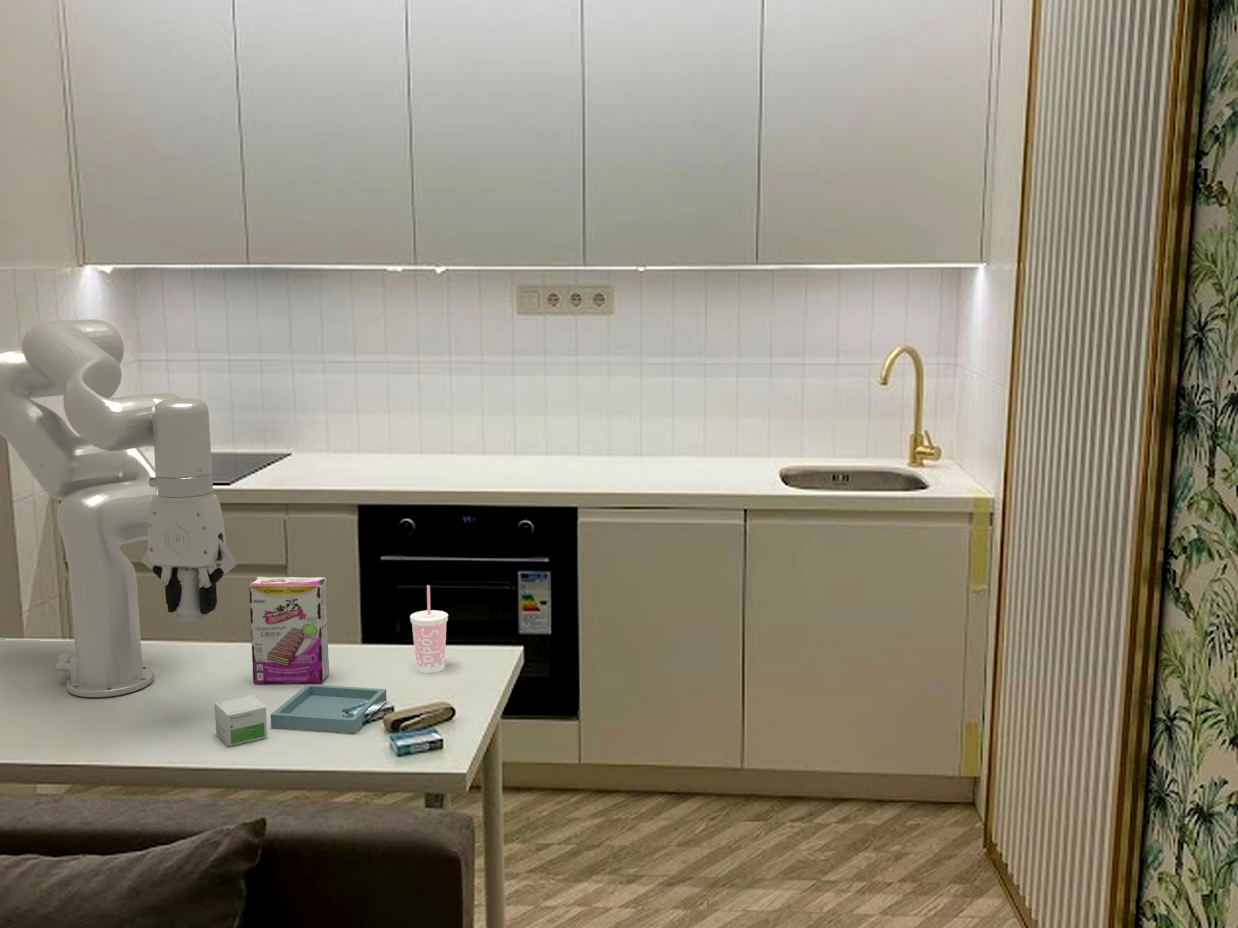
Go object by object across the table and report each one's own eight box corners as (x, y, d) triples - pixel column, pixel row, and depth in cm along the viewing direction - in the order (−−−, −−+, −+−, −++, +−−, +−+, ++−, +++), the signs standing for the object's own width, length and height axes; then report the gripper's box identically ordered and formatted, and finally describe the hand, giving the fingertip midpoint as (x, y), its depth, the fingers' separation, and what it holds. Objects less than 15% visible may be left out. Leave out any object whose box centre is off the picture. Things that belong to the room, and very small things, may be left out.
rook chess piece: (194, 612, 176) (191, 559, 174) (215, 617, 173) (212, 563, 172) (169, 620, 172) (165, 566, 170) (190, 625, 170) (187, 570, 168)
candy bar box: (252, 685, 188) (247, 584, 185) (260, 674, 193) (255, 575, 190) (324, 684, 188) (319, 583, 185) (330, 673, 193) (326, 575, 190)
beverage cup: (405, 672, 194) (403, 589, 191) (419, 660, 200) (417, 579, 197) (441, 675, 192) (439, 591, 190) (454, 663, 198) (452, 581, 196)
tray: (271, 727, 171) (270, 714, 170) (308, 696, 183) (307, 684, 183) (354, 733, 169) (354, 720, 168) (386, 701, 181) (386, 689, 181)
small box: (228, 748, 164) (226, 714, 163) (215, 735, 168) (213, 701, 168) (269, 738, 167) (267, 705, 166) (254, 726, 172) (253, 693, 171)
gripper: (115, 489, 167) (123, 615, 170) (227, 493, 164) (233, 621, 167) (144, 479, 174) (152, 600, 178) (252, 483, 172) (258, 606, 175)
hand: (192, 609), depth 172 cm, fingers closed on rook chess piece, 4 cm apart
